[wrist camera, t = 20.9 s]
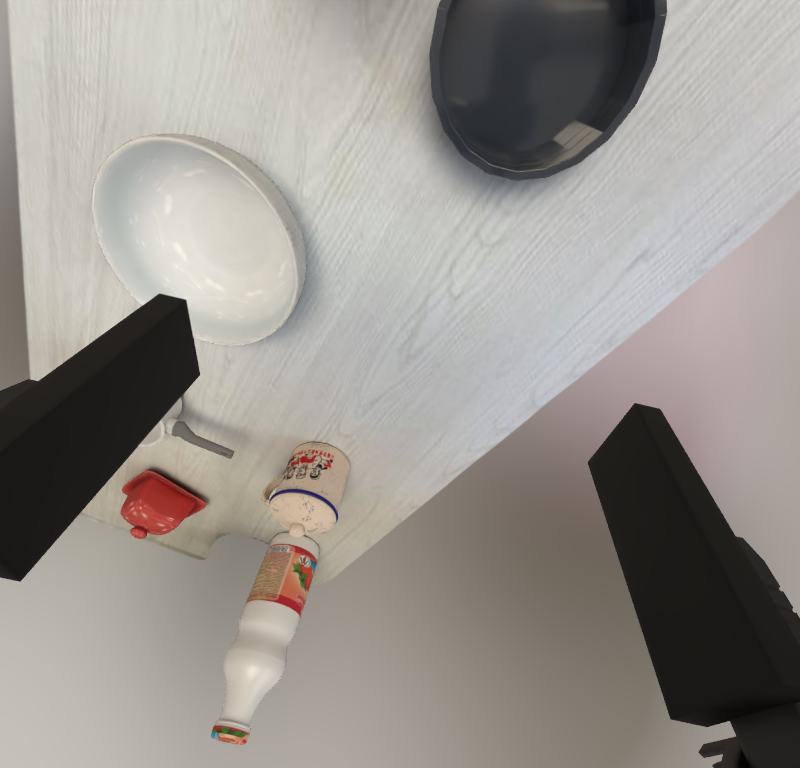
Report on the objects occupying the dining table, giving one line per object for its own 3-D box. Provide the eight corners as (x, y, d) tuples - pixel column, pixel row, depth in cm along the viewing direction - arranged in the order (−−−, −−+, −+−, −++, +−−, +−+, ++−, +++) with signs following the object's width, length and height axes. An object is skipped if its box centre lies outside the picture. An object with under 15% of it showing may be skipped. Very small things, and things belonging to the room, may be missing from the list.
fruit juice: (275, 525, 70) (192, 727, 49) (325, 540, 71) (265, 743, 50) (269, 548, 76) (193, 737, 54) (315, 561, 77) (259, 752, 55)
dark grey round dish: (684, -58, 23) (725, -82, 19) (576, 185, 31) (591, 199, 27) (465, -116, 22) (466, -150, 19) (416, 146, 31) (410, 155, 27)
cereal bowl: (325, 321, 42) (305, 358, 36) (177, 301, 43) (135, 335, 37) (315, 136, 31) (284, 149, 26) (117, 115, 32) (46, 123, 26)
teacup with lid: (339, 436, 53) (314, 510, 44) (360, 478, 58) (342, 552, 49) (263, 444, 56) (225, 515, 47) (290, 483, 61) (260, 554, 52)
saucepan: (243, 449, 58) (225, 480, 53) (104, 399, 54) (73, 427, 50) (256, 399, 51) (238, 429, 46) (98, 337, 47) (61, 363, 43)
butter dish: (180, 517, 73) (152, 561, 66) (123, 483, 68) (86, 528, 61) (213, 499, 67) (186, 545, 61) (153, 461, 62) (117, 507, 56)
